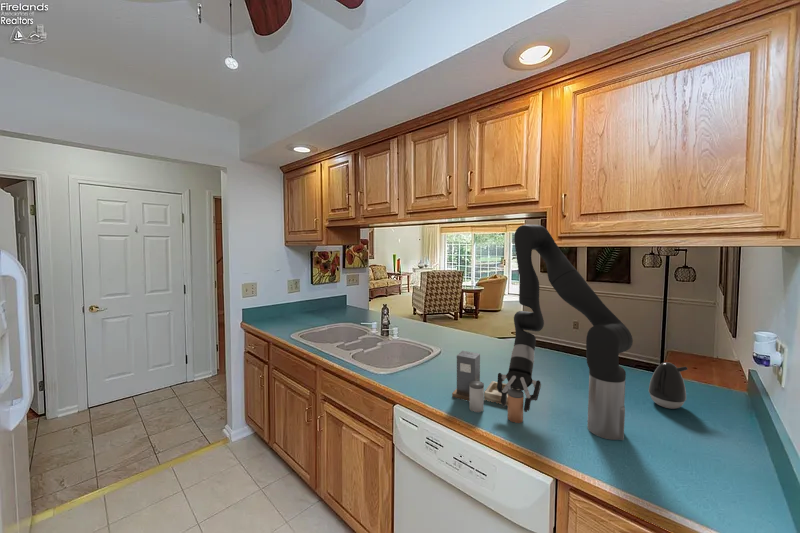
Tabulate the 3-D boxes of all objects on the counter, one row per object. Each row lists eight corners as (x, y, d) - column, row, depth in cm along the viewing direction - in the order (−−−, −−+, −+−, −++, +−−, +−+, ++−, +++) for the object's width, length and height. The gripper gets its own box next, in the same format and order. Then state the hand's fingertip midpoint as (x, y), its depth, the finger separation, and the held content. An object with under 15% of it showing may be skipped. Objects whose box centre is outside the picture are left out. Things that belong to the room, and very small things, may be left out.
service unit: (483, 391, 127) (484, 352, 126) (475, 402, 118) (476, 360, 117) (461, 386, 132) (461, 348, 130) (452, 397, 123) (452, 356, 122)
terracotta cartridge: (524, 417, 109) (524, 390, 108) (521, 424, 104) (522, 397, 104) (509, 413, 111) (509, 387, 110) (506, 420, 107) (506, 393, 106)
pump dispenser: (692, 414, 109) (694, 370, 108) (654, 409, 112) (656, 366, 111) (678, 400, 118) (680, 359, 117) (643, 396, 122) (645, 356, 121)
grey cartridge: (485, 407, 115) (485, 382, 114) (480, 413, 111) (481, 387, 110) (472, 404, 118) (472, 379, 117) (467, 409, 114) (467, 384, 113)
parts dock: (521, 394, 124) (521, 386, 124) (515, 407, 115) (515, 399, 115) (492, 388, 130) (492, 380, 130) (484, 400, 120) (484, 392, 120)
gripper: (499, 352, 116) (489, 398, 107) (543, 359, 109) (537, 409, 100) (502, 362, 121) (493, 407, 112) (545, 369, 114) (539, 418, 105)
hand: (514, 408), depth 106 cm, fingers open, 6 cm apart
